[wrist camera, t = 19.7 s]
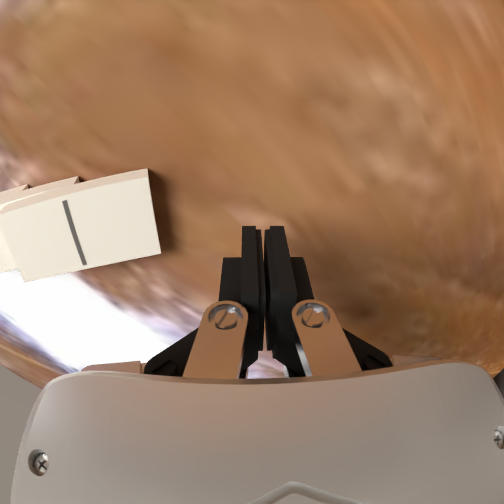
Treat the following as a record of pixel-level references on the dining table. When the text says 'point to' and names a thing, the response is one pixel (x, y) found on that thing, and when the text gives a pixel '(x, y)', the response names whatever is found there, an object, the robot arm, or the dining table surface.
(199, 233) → the dining table surface
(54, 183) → the domino
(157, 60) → the dining table surface
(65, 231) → the domino
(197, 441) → the robot arm
